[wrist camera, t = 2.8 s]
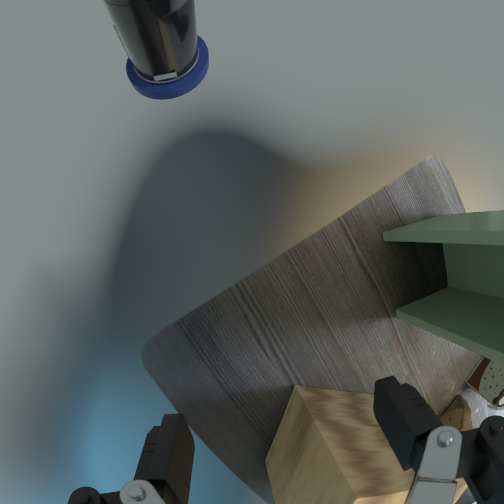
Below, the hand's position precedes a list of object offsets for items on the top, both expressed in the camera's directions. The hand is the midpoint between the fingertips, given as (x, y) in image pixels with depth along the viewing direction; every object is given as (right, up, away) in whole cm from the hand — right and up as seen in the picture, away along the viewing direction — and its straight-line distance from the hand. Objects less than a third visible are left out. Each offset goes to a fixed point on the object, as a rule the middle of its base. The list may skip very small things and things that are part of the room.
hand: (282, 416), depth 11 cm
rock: (+34, -24, +30) cm, 51 cm away
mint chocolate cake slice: (+42, -15, +30) cm, 54 cm away
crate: (+10, -20, +27) cm, 35 cm away
